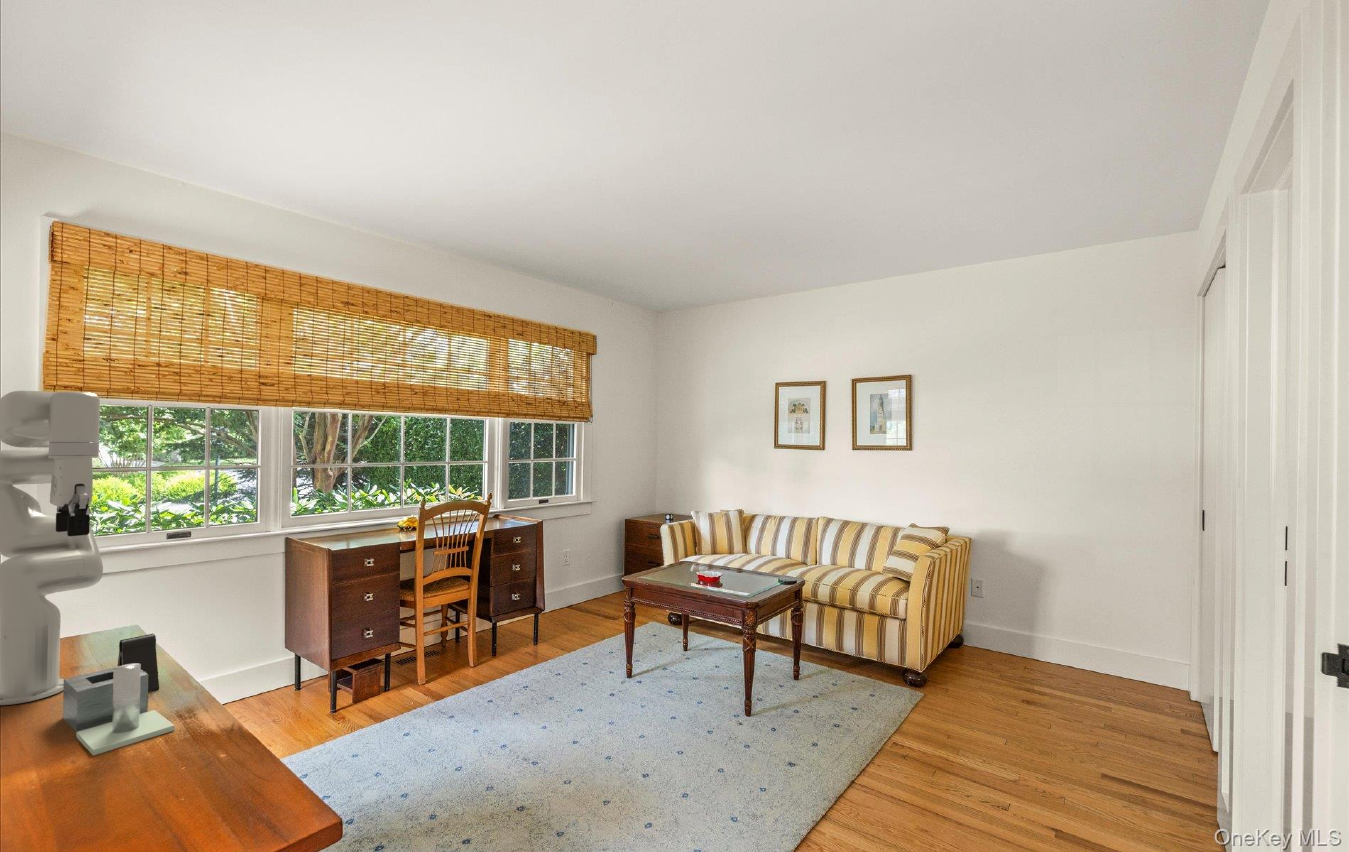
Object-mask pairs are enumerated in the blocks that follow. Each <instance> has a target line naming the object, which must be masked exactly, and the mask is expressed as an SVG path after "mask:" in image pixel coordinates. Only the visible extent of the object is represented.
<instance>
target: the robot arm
mask: <svg viewBox="0 0 1349 852" xmlns="http://www.w3.org/2000/svg"><path fill="white" fill-rule="evenodd" d="M100 401H101V400H100V398H99V396H98V395H97V394H96V393H92V392H83V391H47V390H46V391H43V390H15V391H10V392H8V393H6V394H4V395H3V396H1V398H0V441H1V442H2V443H4V444H6V445H8V446H10V447H14V448H34V449H0V554H1V556H3V557H5V558H6V560H4V561H2V562H1V563H0V706H8V705H9V706H10V705H17V704H24V703H29V702H32V701H38V700H40V699H44V698H47V697H51V696H53V695H56V694H59V693H61V692H63V688H64V679H65V678H61V677H60V659H61V658H60V655H61V654H60V653H61V652H60V651H61V612H60V609H59V608H58V606H57V605H56V604H54V602H51V601H50V600H48V599H47V597H46V596H48V595H50V594H55V593H62V592H68V591H74V590H81V589H86V588H90V587H93V586H95V585H96V584H98V583H99V582H100V581H101V579H102V577H103V574H104V565H103V559H102V557H101V553H100V550H99V548H98V547H99V546H98V544H97V541H96V537H95V535H94V532H93V530H92V526H91V524H90V522H91V521H90V520H91V516H90V515H91V513H90V504H91V503H92V500H93V489H94V487H93V485H94V483H93V481H94V480H93V475H94V474H93V473H94V472H93V471H94V469H93V468H94V467H93V459H95V458H96V459H98V458H100V457H99V455H100V454H99V453H100V451H99V450H100V447H99V446H100V443H99V442H100V413H101V412H100V410H101V406H100V405H101V402H100ZM35 448H48V449H35ZM37 484H40V485H41V484H50V493H49V503H50V504H51V505H52V506H55V507H56V513H55V514H52V515H51V514H50V515H48V514H43V512H42V508H41V505H40V503H39V501H38V500H37V499H36V498H35V497H34V496H32V495H31V494H29V493H27V492H26V491H24V490H22V489H20V488H18V487H15V486H16V485H19V486H20V485H37ZM14 485H15V486H14ZM7 558H8V559H7Z"/></svg>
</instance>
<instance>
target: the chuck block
mask: <svg viewBox="0 0 1349 852" xmlns="http://www.w3.org/2000/svg"><path fill="white" fill-rule="evenodd" d="M116 667H117V666H115V667H112V668H107V669H106V668H105V669H102V670H97V671H94V672H89V673H85V674H81V675H76V676H71V677H66V678H63V679H64V688H63V691H62V692H63V694H62V695H63V696H62V698H63V699H62V719H63V720H64V721H65V722H66V723H67V724H68V725H69V726H70V727H71V729H72V730H74V732H75V733H76V732H78V731H82V730H85V729H89V728H92V727H96V726H99V725H103V724H106V723H110V722H112V718H113V671H114V668H116ZM148 704H149V692H148V674H147V673H146V672H144V671H143V670H141V673H140V714H142V713H145V712H149V711H148V709H149V708H148V707H149V705H148Z"/></svg>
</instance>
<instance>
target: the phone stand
mask: <svg viewBox="0 0 1349 852" xmlns="http://www.w3.org/2000/svg"><path fill="white" fill-rule="evenodd" d="M156 637H157V636H156V634H155V633H150V634H149V633H148V634H145V635H140V636H134V637H129V638H125V639H124V638H123V639H120V640H119V643H118V659H117V665H116V667H118V666H122V665H126V664H133V663H139V664H141V670H143V671H144V672H146V673H147V674H148V693H150V691H151V692H154V690H155V691H158V690H160V682H159V681H160V680H159V670H158V657H157V638H156ZM157 689H158V690H157Z"/></svg>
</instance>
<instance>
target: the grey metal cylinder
mask: <svg viewBox="0 0 1349 852" xmlns="http://www.w3.org/2000/svg"><path fill="white" fill-rule="evenodd" d="M115 667H116V668H115ZM115 667H113V668H114V671H113V718H112V732H113V733H124V732H128V731H131V730H134V729H136V728H138V727H139V722H140V673H141V664H139V663H133V664H126V665H122V666H118V667H117V666H115Z"/></svg>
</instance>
